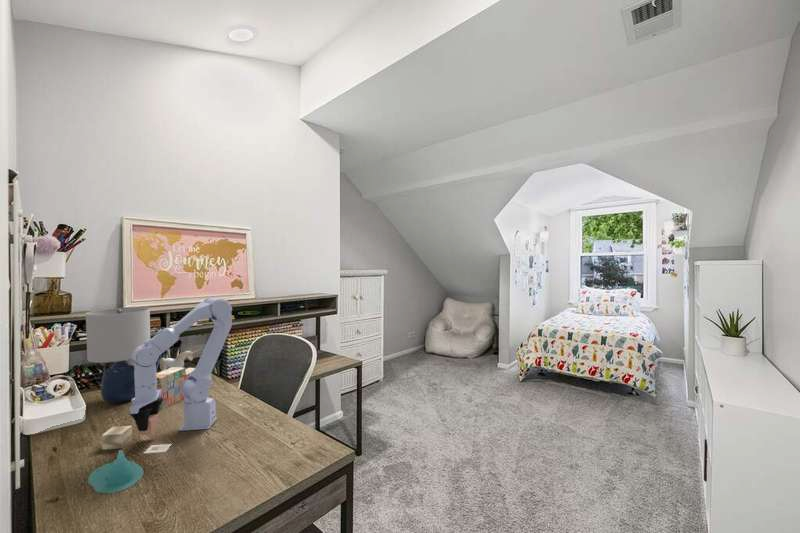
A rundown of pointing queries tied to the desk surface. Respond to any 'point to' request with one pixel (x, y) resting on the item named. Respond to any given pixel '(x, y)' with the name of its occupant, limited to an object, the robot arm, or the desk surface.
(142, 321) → the lamp
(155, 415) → the terracotta cube
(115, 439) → the birch base block
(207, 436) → the desk surface
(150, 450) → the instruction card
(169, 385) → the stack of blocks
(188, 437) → the desk surface
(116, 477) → the teal plastic funnel
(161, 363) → the unicorn figurine
